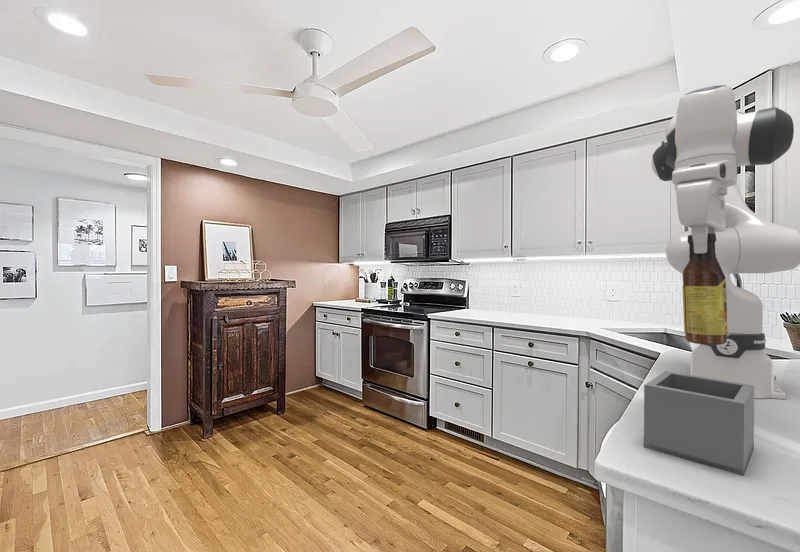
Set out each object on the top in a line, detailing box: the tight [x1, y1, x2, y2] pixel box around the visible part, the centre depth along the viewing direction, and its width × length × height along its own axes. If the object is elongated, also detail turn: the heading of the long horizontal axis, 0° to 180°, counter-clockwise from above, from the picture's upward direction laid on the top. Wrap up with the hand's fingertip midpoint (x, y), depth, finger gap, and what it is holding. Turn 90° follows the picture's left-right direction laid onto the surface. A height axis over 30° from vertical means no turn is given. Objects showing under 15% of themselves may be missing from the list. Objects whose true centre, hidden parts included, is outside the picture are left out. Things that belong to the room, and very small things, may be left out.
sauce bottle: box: [681, 233, 728, 345], centre depth 69 cm, size 7×6×20 cm
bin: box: [643, 370, 755, 477], centre depth 59 cm, size 12×12×10 cm
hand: (704, 254), depth 69 cm, fingers open, 4 cm apart
